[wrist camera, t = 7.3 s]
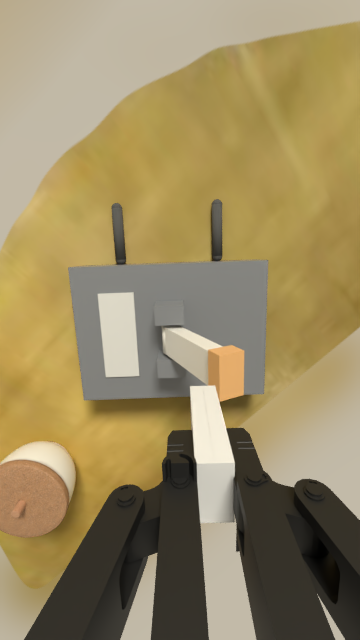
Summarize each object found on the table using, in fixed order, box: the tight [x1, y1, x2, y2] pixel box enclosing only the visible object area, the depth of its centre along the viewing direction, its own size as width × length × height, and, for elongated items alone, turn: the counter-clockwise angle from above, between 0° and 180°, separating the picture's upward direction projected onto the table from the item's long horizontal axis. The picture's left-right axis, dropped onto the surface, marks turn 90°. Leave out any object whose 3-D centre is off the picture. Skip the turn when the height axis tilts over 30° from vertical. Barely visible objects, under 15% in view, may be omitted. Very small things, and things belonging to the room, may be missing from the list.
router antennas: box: [112, 199, 222, 265], centre depth 35 cm, size 13×7×1 cm, turn 92°
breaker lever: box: [162, 325, 244, 402], centre depth 27 cm, size 2×4×12 cm, turn 2°
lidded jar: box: [0, 441, 76, 537], centre depth 38 cm, size 11×11×9 cm
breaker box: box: [68, 260, 268, 400], centre depth 34 cm, size 22×16×8 cm
